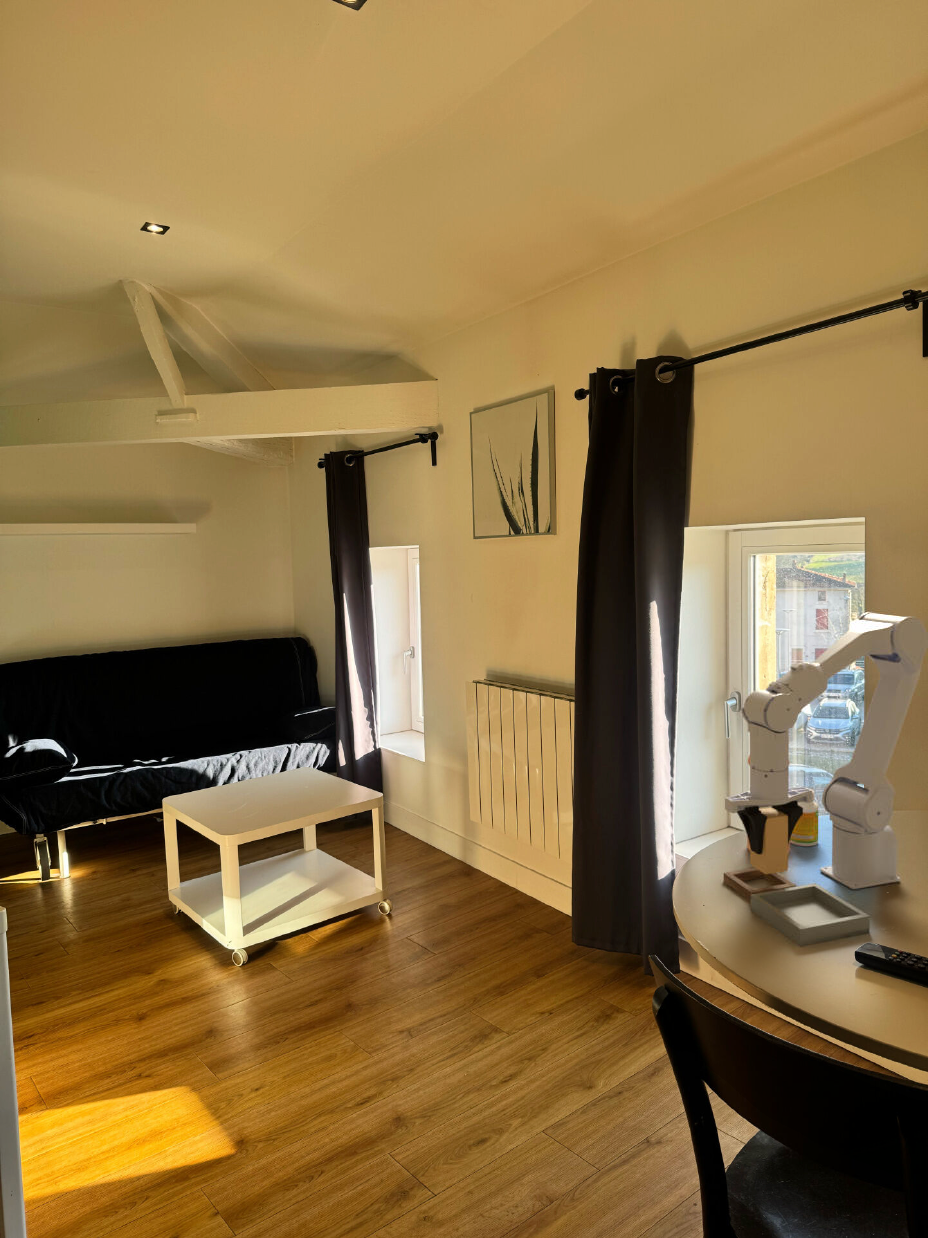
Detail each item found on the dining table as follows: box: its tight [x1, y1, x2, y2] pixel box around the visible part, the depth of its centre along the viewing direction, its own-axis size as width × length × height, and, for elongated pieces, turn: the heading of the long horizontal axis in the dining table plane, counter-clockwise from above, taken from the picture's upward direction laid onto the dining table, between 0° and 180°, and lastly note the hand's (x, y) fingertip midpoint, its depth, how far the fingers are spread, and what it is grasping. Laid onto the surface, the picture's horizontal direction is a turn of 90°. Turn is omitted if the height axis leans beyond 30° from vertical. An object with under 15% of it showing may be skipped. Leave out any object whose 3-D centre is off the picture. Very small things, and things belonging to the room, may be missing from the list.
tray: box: [750, 883, 871, 947], centre depth 122 cm, size 12×12×2 cm
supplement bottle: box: [790, 788, 819, 847], centre depth 152 cm, size 5×5×10 cm
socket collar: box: [723, 867, 797, 902], centre depth 134 cm, size 8×8×2 cm
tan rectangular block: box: [749, 808, 789, 874], centre depth 130 cm, size 4×4×9 cm
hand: (769, 850), depth 130 cm, fingers closed on tan rectangular block, 4 cm apart
